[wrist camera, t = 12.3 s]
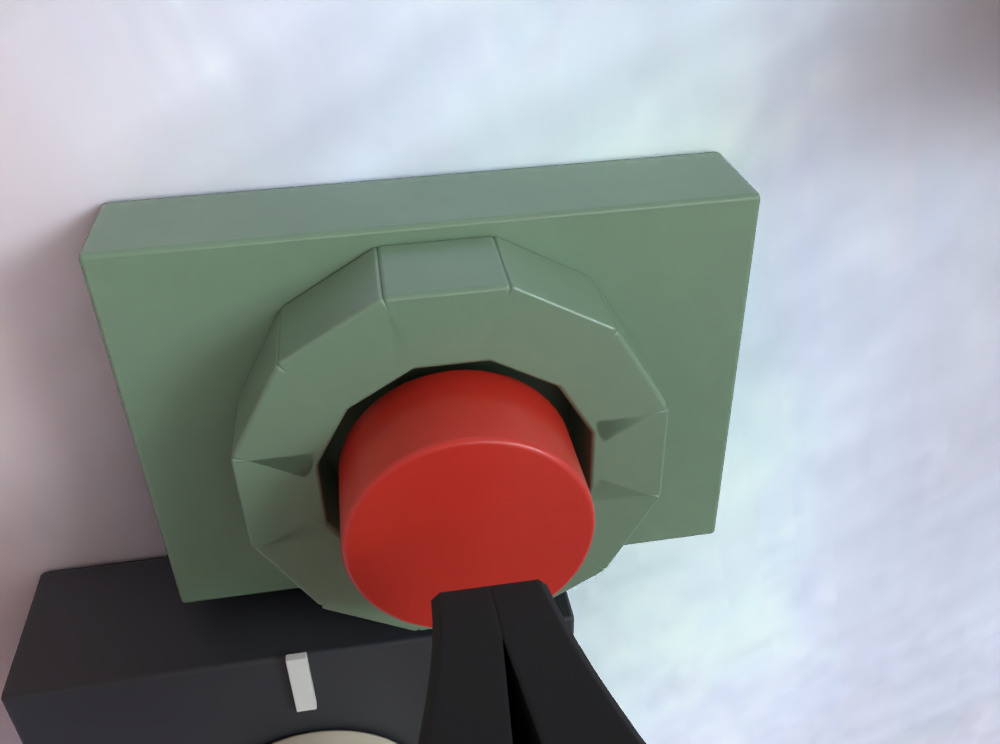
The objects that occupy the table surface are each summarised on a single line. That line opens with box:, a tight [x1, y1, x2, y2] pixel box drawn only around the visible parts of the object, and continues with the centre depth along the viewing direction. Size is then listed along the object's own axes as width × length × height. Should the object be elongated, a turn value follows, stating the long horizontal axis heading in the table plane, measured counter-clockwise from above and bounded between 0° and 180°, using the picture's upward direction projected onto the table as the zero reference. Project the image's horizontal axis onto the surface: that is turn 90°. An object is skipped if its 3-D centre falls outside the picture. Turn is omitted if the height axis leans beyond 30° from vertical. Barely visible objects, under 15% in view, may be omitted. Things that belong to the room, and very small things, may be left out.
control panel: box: [1, 557, 574, 744], centre depth 20 cm, size 10×8×3 cm
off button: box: [338, 369, 595, 628], centre depth 14 cm, size 4×4×2 cm
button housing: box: [79, 152, 760, 631], centre depth 16 cm, size 10×7×4 cm
